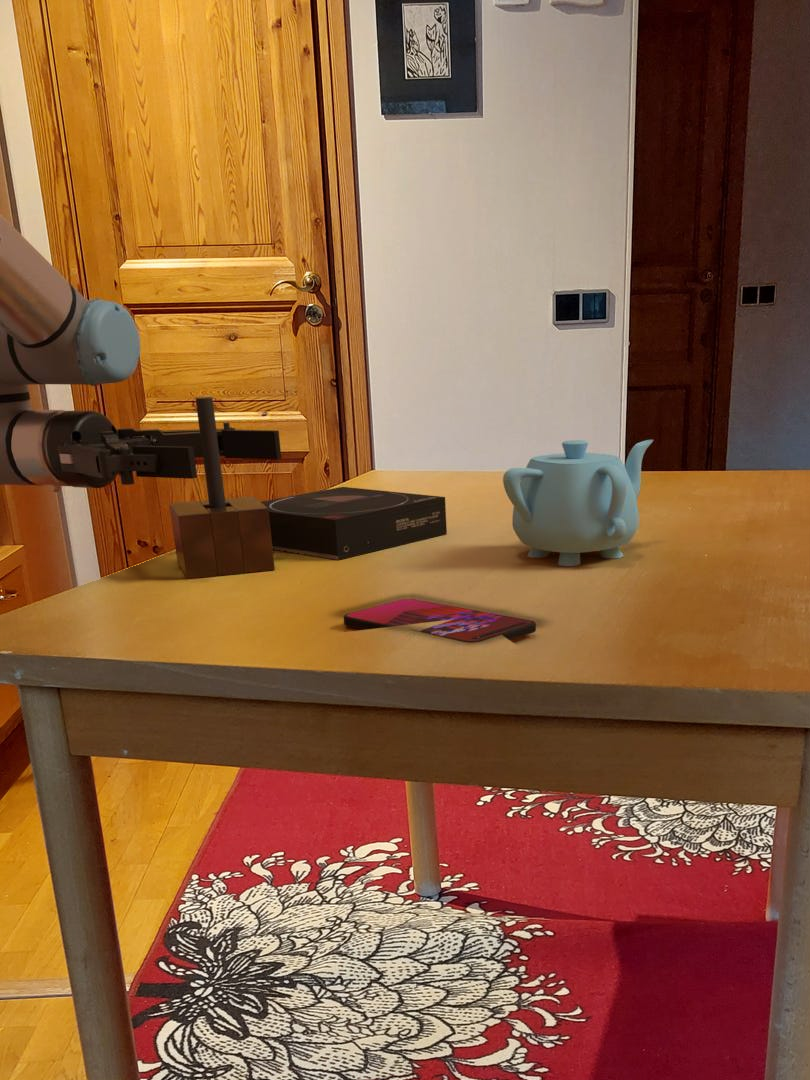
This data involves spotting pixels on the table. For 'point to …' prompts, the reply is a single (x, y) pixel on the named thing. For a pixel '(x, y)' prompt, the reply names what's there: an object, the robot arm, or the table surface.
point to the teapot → (576, 502)
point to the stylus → (210, 452)
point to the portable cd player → (353, 521)
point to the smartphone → (461, 628)
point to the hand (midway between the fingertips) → (237, 453)
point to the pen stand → (222, 537)
